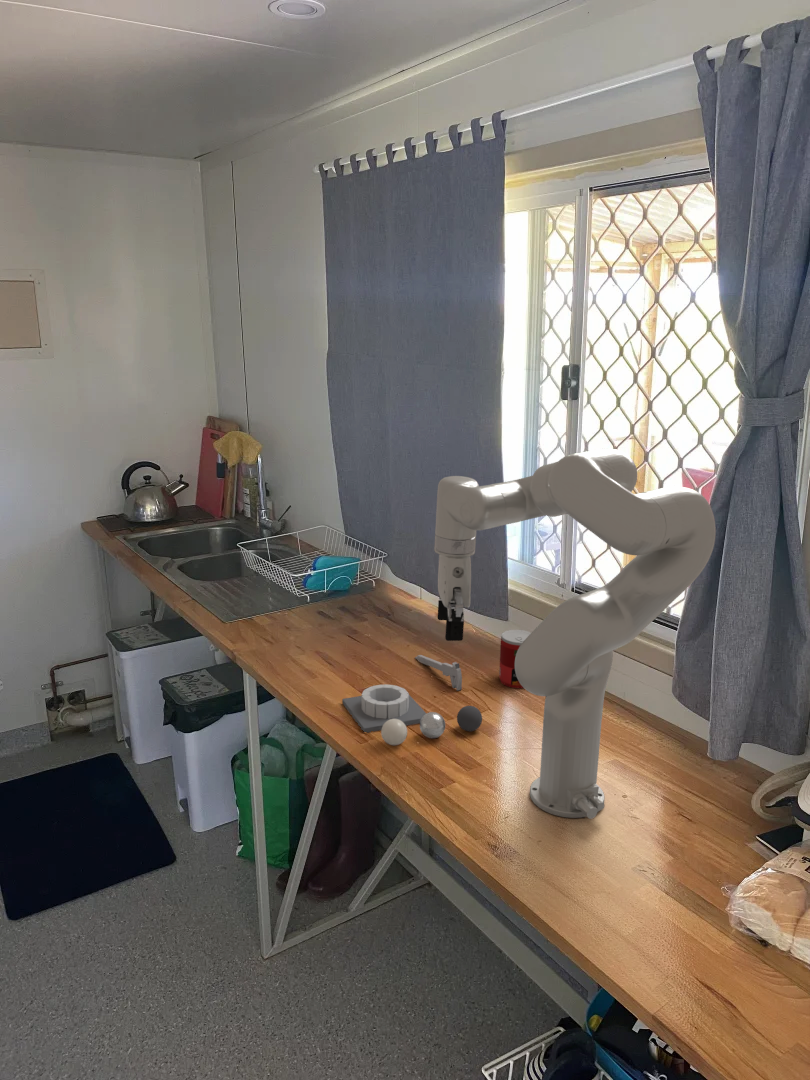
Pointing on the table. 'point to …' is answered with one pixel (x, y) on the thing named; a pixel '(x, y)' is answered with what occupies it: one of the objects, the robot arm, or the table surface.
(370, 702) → the housing
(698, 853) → the table surface
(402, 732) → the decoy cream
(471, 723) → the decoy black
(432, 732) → the steel ball
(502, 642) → the canned food
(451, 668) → the caliper
